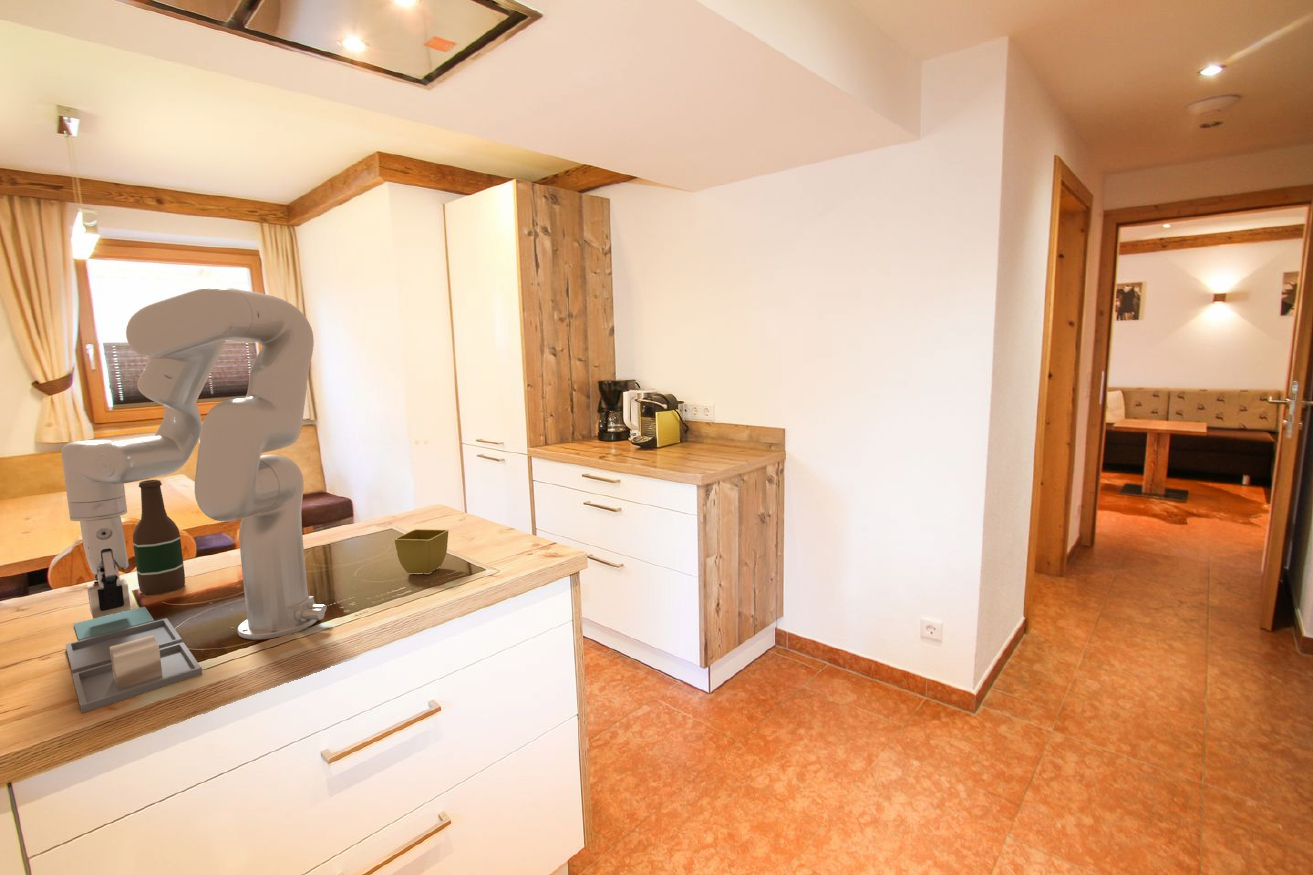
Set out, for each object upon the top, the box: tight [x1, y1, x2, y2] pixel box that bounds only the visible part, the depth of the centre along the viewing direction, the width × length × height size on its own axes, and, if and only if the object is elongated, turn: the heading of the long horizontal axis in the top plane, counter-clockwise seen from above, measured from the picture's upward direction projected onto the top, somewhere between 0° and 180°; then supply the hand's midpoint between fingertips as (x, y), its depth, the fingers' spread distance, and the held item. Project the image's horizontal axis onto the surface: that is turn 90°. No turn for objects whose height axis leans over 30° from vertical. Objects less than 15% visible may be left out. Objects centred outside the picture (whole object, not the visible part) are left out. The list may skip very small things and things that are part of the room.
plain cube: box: [110, 635, 163, 690], centre depth 88 cm, size 5×5×5 cm
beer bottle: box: [132, 479, 186, 596], centre depth 124 cm, size 8×8×24 cm
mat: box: [73, 606, 155, 641], centre depth 107 cm, size 10×10×1 cm
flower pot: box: [394, 528, 449, 574], centre depth 133 cm, size 9×9×9 cm
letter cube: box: [86, 577, 132, 619], centre depth 106 cm, size 5×5×5 cm
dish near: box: [72, 641, 203, 714], centre depth 88 cm, size 13×13×1 cm
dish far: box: [65, 617, 183, 675], centre depth 98 cm, size 13×13×1 cm
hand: (110, 603), depth 106 cm, fingers closed on letter cube, 4 cm apart
